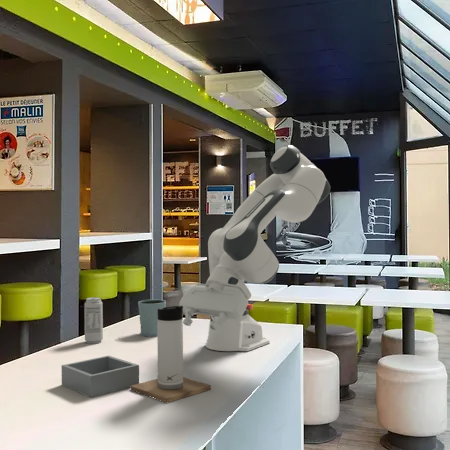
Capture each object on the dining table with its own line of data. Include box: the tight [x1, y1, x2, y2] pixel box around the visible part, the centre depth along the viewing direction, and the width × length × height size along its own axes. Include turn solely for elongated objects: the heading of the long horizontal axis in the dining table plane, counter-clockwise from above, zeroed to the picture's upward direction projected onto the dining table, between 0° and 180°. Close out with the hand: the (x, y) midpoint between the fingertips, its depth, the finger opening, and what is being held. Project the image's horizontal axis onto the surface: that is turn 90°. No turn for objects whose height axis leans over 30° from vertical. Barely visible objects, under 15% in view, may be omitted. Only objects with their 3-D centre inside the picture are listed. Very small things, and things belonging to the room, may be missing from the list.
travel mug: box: [156, 305, 184, 390], centre depth 136 cm, size 6×7×20 cm
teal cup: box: [137, 299, 167, 337], centre depth 202 cm, size 10×10×12 cm
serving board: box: [130, 376, 212, 404], centre depth 136 cm, size 14×14×1 cm
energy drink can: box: [84, 296, 104, 344], centre depth 189 cm, size 6×6×15 cm
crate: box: [61, 355, 140, 398], centre depth 141 cm, size 14×14×5 cm
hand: (199, 326), depth 145 cm, fingers open, 8 cm apart
